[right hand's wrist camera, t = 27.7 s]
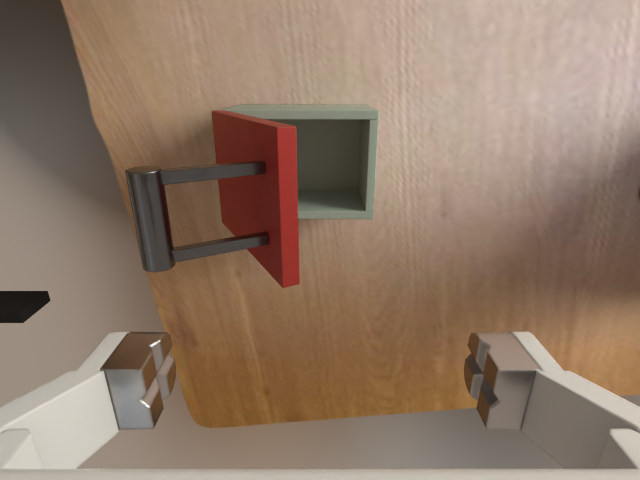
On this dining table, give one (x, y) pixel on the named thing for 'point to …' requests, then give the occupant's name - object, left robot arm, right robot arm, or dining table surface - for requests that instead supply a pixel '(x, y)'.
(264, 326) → the dining table surface
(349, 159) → the chest
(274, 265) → the lid
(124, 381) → the right robot arm
